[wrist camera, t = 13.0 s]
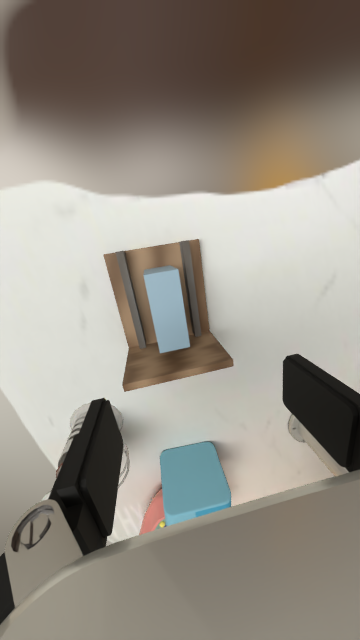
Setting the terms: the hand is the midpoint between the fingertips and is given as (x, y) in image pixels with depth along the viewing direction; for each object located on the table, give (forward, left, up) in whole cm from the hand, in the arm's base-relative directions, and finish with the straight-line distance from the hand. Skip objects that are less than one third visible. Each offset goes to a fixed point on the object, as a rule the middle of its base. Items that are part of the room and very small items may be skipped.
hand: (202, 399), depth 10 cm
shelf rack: (0, 0, -24) cm, 24 cm away
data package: (+1, +36, -25) cm, 43 cm away
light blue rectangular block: (0, 0, -23) cm, 23 cm away
